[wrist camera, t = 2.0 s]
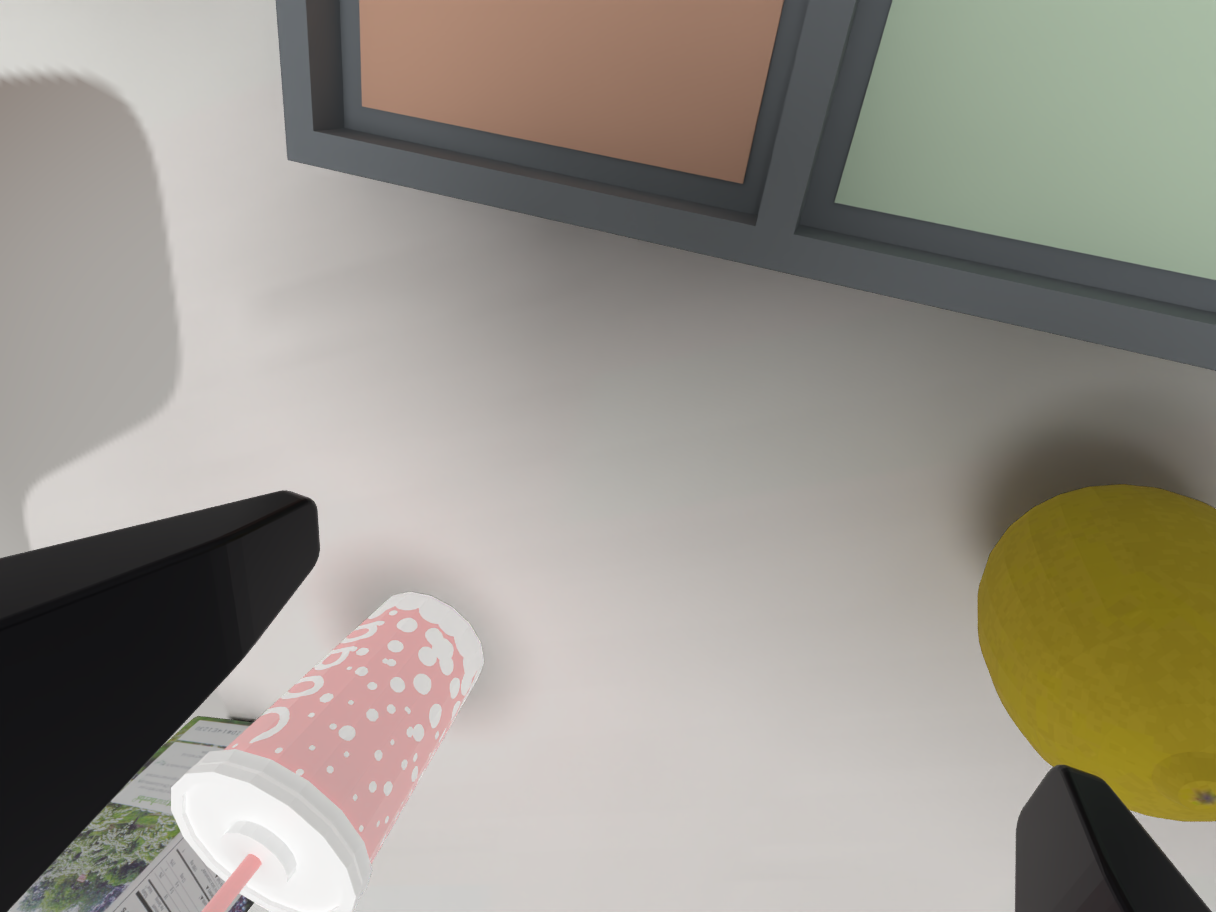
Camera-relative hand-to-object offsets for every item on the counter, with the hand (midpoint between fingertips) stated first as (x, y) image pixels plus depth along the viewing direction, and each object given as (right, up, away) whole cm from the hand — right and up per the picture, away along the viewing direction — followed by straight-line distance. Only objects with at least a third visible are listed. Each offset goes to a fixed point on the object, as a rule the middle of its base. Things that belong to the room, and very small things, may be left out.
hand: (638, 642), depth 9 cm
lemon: (+11, +1, +10) cm, 15 cm away
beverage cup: (-7, -5, +19) cm, 21 cm away
